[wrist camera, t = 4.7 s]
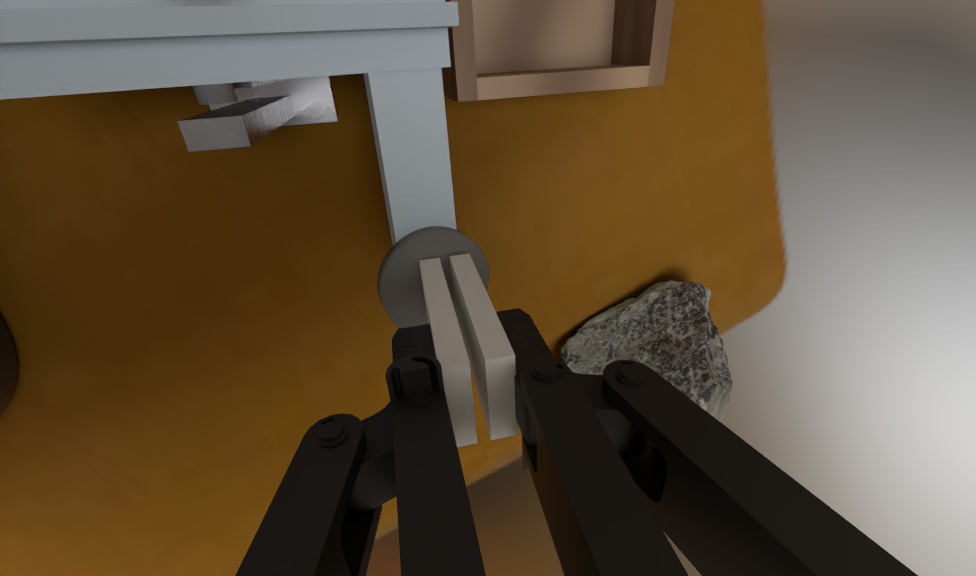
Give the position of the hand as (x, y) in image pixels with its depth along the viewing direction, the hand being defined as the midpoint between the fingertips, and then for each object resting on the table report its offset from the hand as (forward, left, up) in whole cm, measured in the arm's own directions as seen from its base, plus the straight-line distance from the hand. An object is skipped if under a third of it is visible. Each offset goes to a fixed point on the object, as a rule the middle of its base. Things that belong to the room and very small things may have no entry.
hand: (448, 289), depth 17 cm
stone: (+12, -10, -8) cm, 18 cm away
